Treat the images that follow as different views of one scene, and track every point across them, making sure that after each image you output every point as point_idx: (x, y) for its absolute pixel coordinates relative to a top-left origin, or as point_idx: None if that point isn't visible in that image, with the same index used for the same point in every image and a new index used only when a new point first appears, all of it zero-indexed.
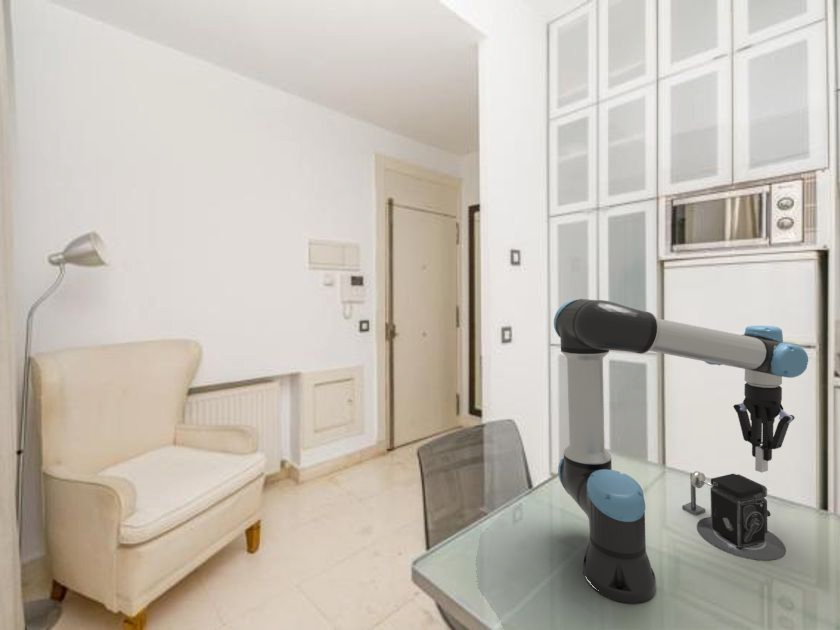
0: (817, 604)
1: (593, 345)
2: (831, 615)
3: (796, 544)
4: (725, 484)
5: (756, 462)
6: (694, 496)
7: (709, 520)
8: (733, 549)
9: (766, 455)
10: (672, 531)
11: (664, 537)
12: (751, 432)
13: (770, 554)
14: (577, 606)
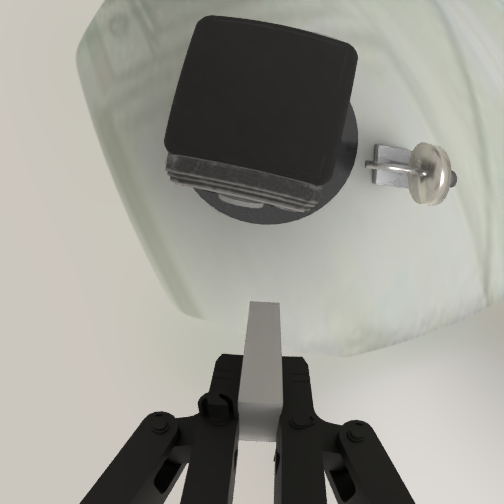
0: (92, 66)
1: None
2: (76, 64)
3: (187, 220)
4: (279, 34)
5: (274, 329)
6: (406, 166)
7: (344, 145)
8: None
9: (224, 377)
10: (357, 35)
11: (348, 4)
12: (323, 498)
13: None
14: None
